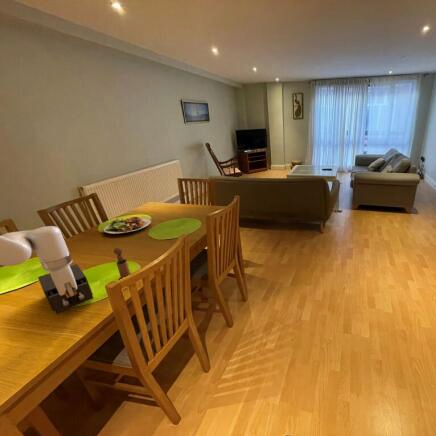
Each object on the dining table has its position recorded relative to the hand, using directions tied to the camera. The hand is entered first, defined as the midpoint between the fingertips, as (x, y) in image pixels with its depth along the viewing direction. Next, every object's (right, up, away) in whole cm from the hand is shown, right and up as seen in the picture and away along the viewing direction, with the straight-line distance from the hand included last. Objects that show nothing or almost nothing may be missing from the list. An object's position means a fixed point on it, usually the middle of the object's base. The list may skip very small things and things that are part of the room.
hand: (75, 302), depth 90 cm
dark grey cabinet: (-13, -1, +12) cm, 18 cm away
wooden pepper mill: (+6, +2, +20) cm, 21 cm away
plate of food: (-31, +25, +76) cm, 86 cm away
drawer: (-8, -2, +8) cm, 11 cm away
